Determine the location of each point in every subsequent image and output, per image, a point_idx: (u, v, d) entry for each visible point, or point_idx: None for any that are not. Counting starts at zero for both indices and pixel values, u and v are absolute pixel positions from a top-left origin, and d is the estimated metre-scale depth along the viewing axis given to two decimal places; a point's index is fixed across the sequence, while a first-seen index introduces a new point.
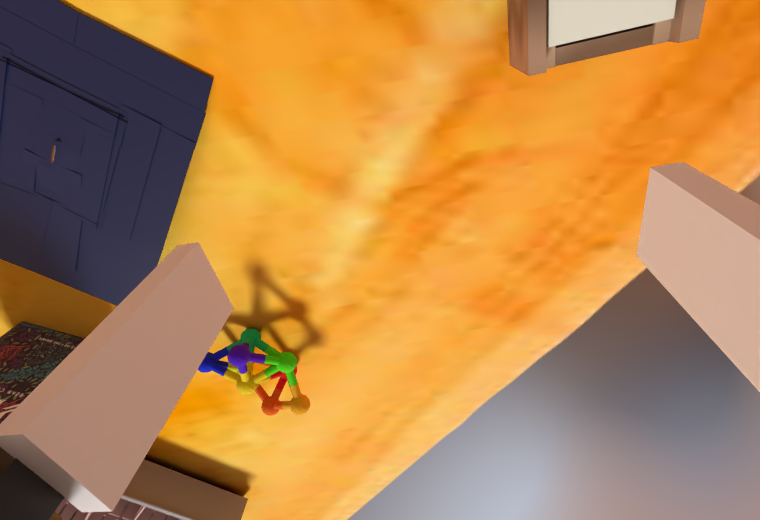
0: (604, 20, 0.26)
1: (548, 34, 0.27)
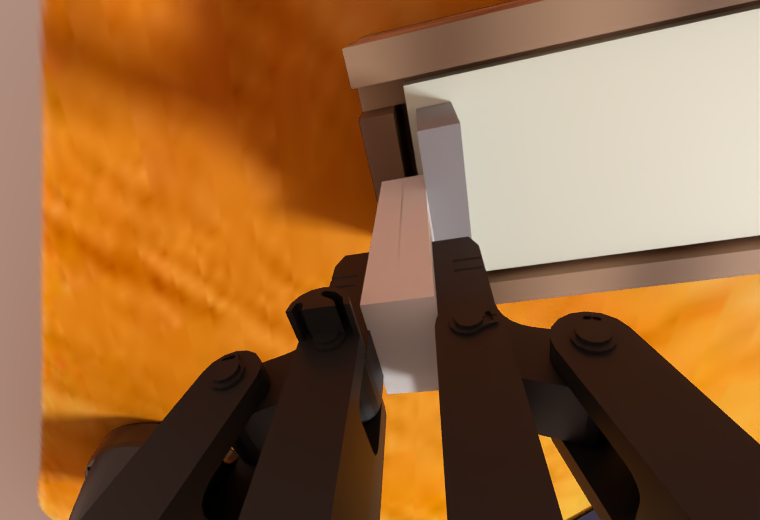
0: None
1: None
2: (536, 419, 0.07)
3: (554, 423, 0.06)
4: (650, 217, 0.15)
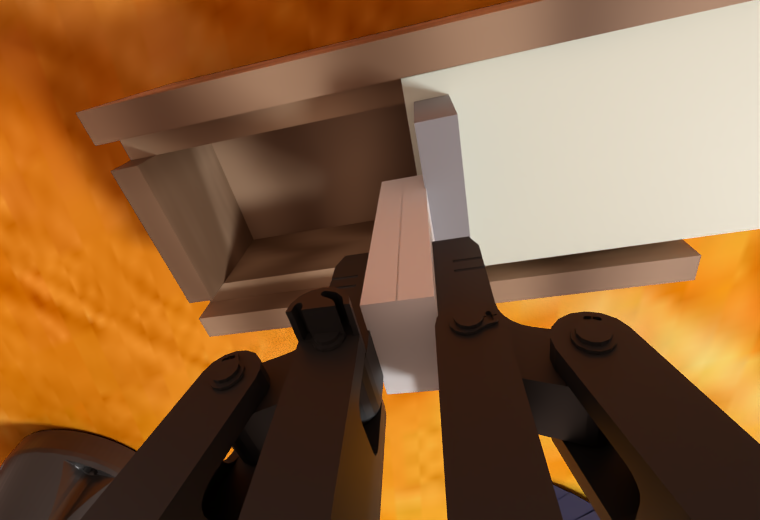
0: None
1: None
2: (536, 420, 0.07)
3: (555, 423, 0.06)
4: (649, 211, 0.15)
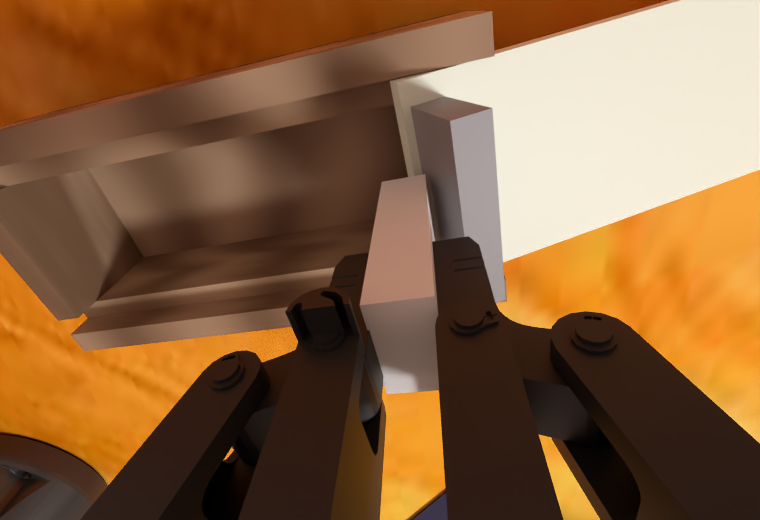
0: None
1: None
2: (536, 419, 0.07)
3: (554, 423, 0.06)
4: (615, 191, 0.16)
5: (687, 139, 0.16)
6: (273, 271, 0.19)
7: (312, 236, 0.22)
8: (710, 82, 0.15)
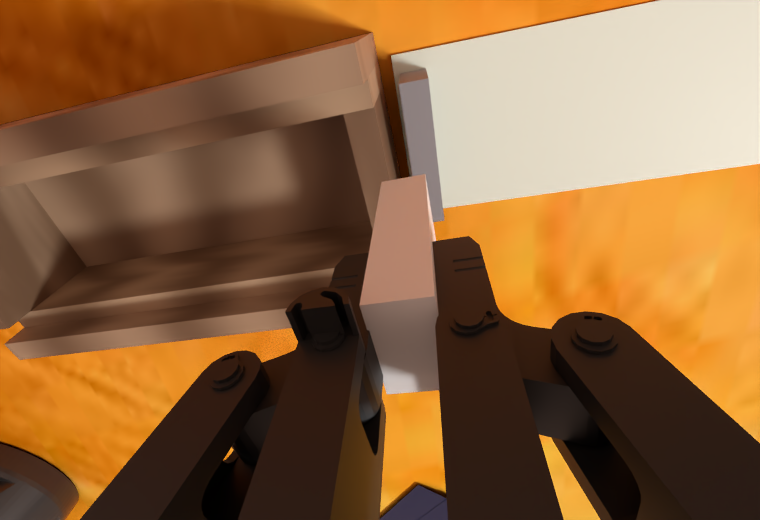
0: None
1: None
2: (536, 419, 0.07)
3: (555, 423, 0.06)
4: (576, 162, 0.20)
5: (651, 126, 0.19)
6: (197, 283, 0.20)
7: (243, 247, 0.22)
8: (675, 77, 0.17)
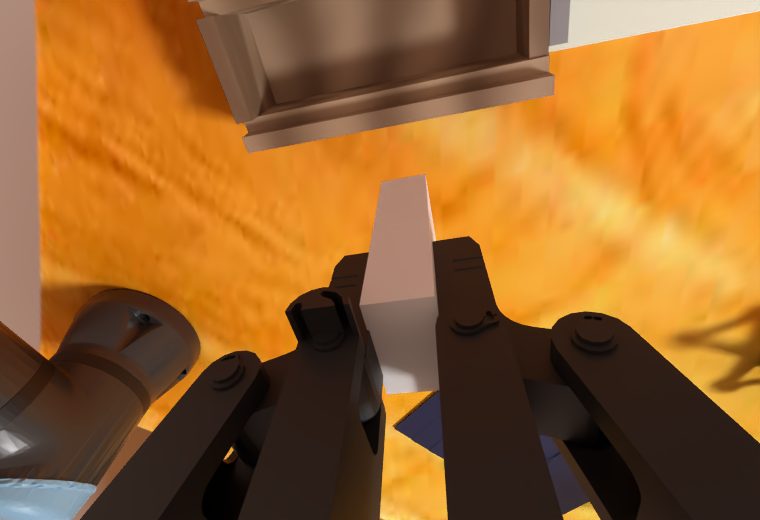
0: None
1: None
2: (536, 420, 0.07)
3: (554, 423, 0.06)
4: (661, 6, 0.27)
5: None
6: (388, 88, 0.28)
7: (408, 77, 0.30)
8: None
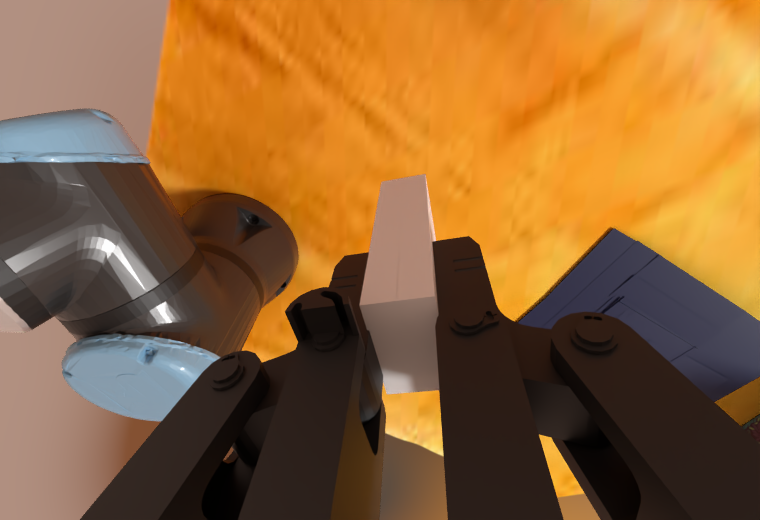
0: None
1: None
2: (536, 420, 0.07)
3: (555, 423, 0.06)
4: None
5: None
6: None
7: None
8: None
